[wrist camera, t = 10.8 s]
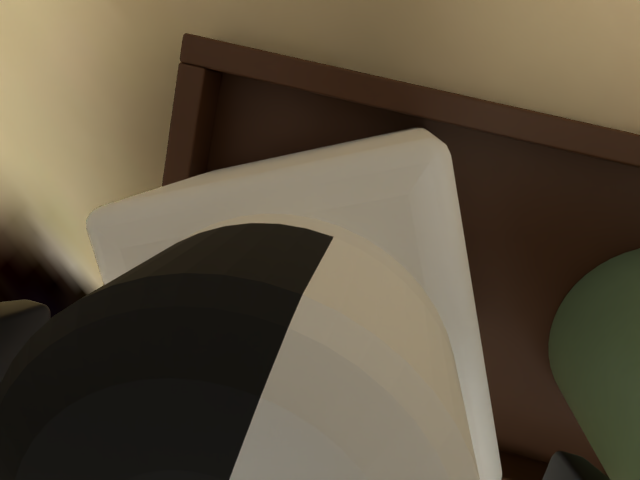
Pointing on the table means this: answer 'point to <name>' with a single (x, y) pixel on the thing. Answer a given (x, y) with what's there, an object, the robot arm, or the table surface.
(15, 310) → the robot arm
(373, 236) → the medicine bottle
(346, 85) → the tray
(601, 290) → the sage bottle
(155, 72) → the table surface
